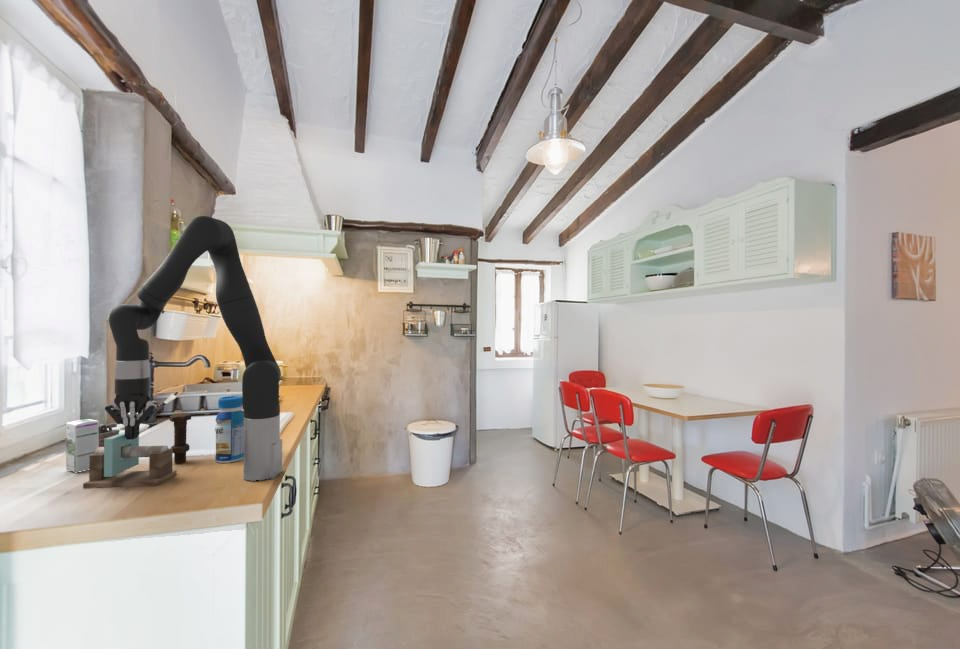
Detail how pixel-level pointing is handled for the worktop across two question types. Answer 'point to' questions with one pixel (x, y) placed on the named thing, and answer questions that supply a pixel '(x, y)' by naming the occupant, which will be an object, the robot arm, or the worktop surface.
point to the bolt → (180, 437)
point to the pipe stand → (157, 471)
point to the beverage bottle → (229, 430)
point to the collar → (118, 455)
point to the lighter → (106, 432)
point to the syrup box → (81, 443)
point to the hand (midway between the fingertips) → (131, 438)
